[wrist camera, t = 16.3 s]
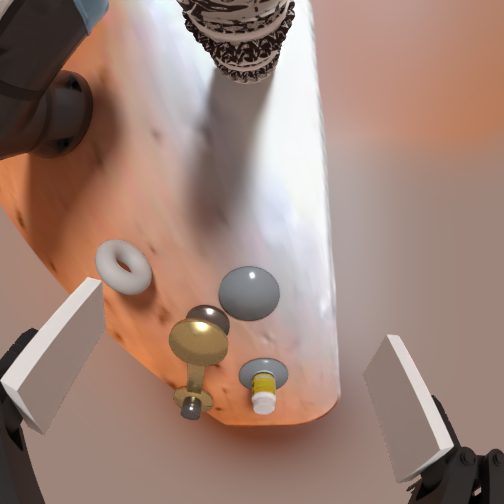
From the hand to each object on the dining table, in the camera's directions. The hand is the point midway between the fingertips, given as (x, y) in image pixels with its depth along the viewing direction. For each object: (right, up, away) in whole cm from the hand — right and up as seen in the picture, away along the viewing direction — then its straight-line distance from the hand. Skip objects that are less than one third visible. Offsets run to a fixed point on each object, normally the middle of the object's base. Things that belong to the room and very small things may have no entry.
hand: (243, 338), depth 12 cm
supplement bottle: (+3, -22, +43) cm, 49 cm away
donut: (-19, +4, +34) cm, 39 cm away
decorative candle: (0, +31, +21) cm, 37 cm away
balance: (-8, -9, +39) cm, 40 cm away
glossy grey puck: (0, -3, +36) cm, 36 cm away
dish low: (+3, -22, +44) cm, 49 cm away
